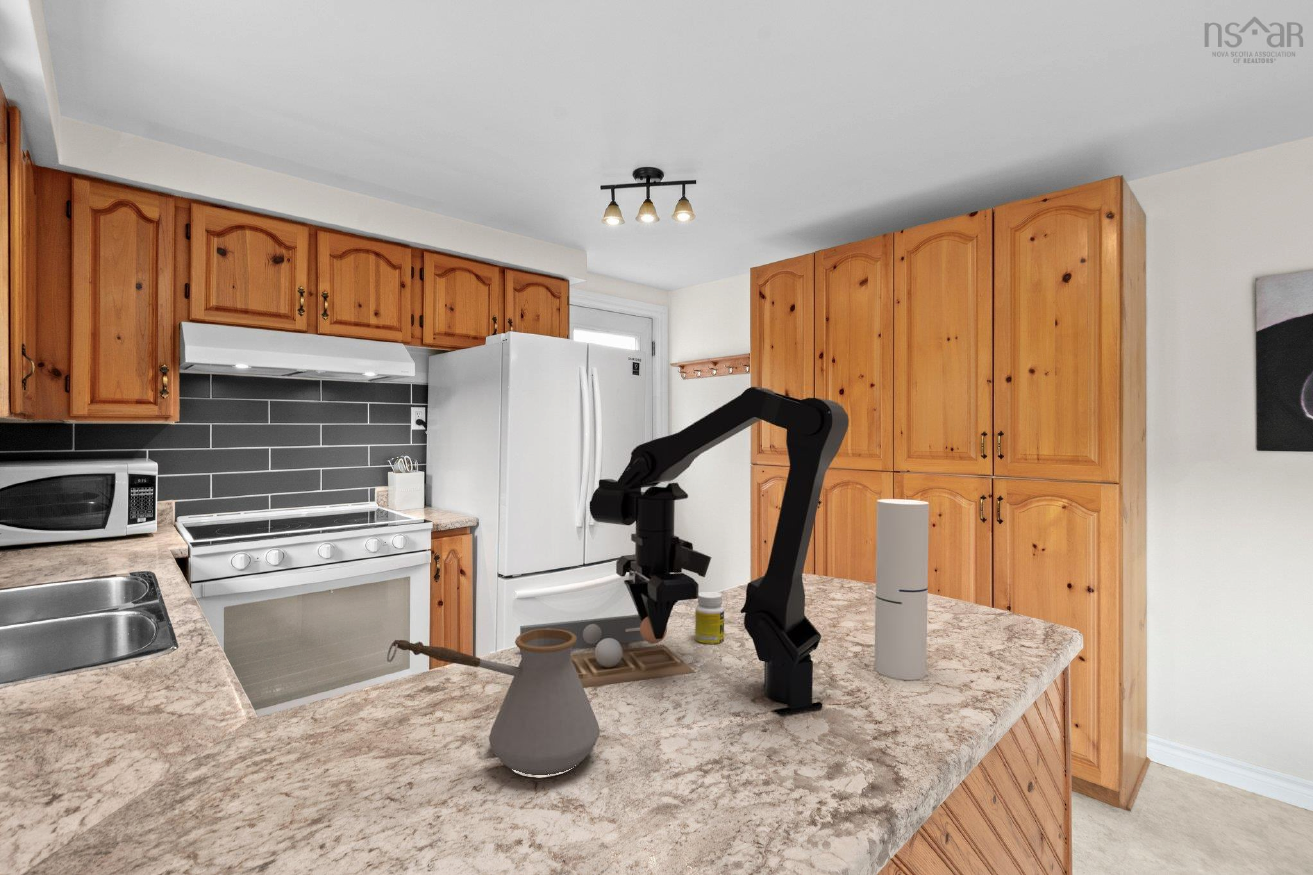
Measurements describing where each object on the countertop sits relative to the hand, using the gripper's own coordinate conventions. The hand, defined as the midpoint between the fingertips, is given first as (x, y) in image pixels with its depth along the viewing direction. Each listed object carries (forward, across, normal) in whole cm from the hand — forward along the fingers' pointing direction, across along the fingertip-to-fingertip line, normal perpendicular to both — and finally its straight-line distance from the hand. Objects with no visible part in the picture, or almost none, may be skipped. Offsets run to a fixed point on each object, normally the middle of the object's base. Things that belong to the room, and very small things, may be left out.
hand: (653, 634), depth 93 cm
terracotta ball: (+1, 0, 0) cm, 1 cm away
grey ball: (+4, 0, +7) cm, 8 cm away
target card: (+5, +9, +7) cm, 13 cm away
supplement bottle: (+5, +6, -12) cm, 14 cm away
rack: (+5, 0, +7) cm, 8 cm away
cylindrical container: (+5, -13, -34) cm, 37 cm away
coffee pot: (+5, -21, +25) cm, 33 cm away
